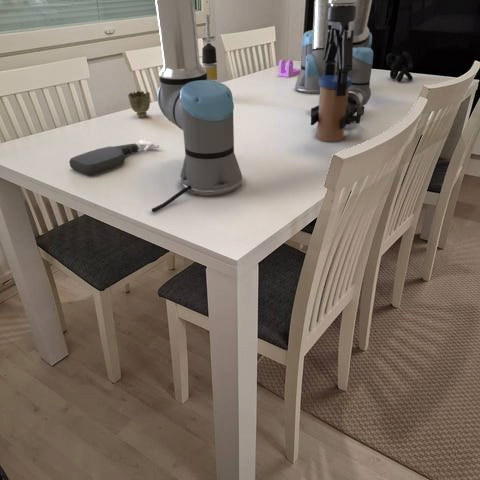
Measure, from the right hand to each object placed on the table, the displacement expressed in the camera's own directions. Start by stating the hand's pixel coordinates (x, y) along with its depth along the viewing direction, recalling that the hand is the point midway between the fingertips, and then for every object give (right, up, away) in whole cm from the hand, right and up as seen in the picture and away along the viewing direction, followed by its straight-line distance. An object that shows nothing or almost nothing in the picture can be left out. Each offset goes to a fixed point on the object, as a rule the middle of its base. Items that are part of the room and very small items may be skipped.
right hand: (326, 122), depth 131 cm
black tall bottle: (-37, +22, +48) cm, 64 cm away
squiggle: (+47, +37, +70) cm, 92 cm away
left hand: (+2, +9, -1) cm, 9 cm away
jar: (+2, -3, +7) cm, 8 cm away
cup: (-61, +10, +29) cm, 68 cm away
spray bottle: (-60, -12, -6) cm, 61 cm away
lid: (+2, +12, -2) cm, 12 cm away
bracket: (-1, +45, +84) cm, 96 cm away
